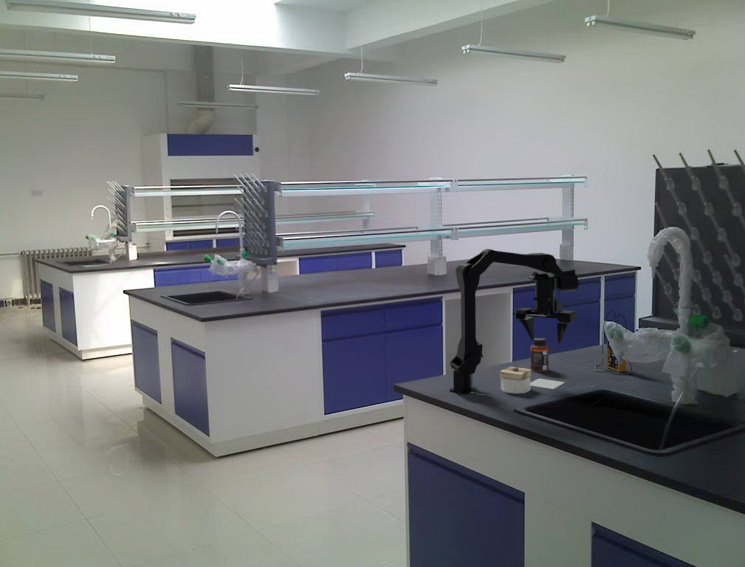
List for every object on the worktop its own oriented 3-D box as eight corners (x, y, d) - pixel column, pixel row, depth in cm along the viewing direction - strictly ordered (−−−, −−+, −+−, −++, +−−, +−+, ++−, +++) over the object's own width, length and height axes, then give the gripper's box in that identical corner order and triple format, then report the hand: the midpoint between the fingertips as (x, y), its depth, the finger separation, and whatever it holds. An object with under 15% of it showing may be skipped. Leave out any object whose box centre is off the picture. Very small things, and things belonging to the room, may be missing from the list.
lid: (520, 380, 219) (520, 372, 219) (499, 377, 224) (499, 369, 223) (531, 375, 225) (531, 367, 225) (510, 372, 229) (510, 364, 229)
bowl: (521, 396, 219) (521, 381, 218) (496, 392, 224) (496, 377, 224) (534, 389, 226) (534, 375, 225) (509, 385, 231) (509, 372, 230)
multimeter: (581, 367, 251) (582, 310, 249) (606, 364, 254) (607, 308, 251) (607, 377, 237) (608, 317, 235) (633, 374, 240) (634, 315, 238)
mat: (553, 390, 224) (553, 388, 224) (526, 386, 230) (526, 384, 230) (564, 383, 231) (564, 382, 231) (538, 380, 237) (538, 378, 237)
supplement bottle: (550, 373, 245) (550, 340, 243) (532, 373, 245) (532, 340, 243) (546, 369, 251) (546, 336, 249) (529, 369, 251) (529, 337, 249)
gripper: (583, 290, 229) (584, 339, 231) (529, 288, 241) (530, 334, 243) (569, 296, 221) (570, 346, 223) (513, 293, 232) (514, 340, 234)
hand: (546, 341), depth 231 cm, fingers open, 9 cm apart
